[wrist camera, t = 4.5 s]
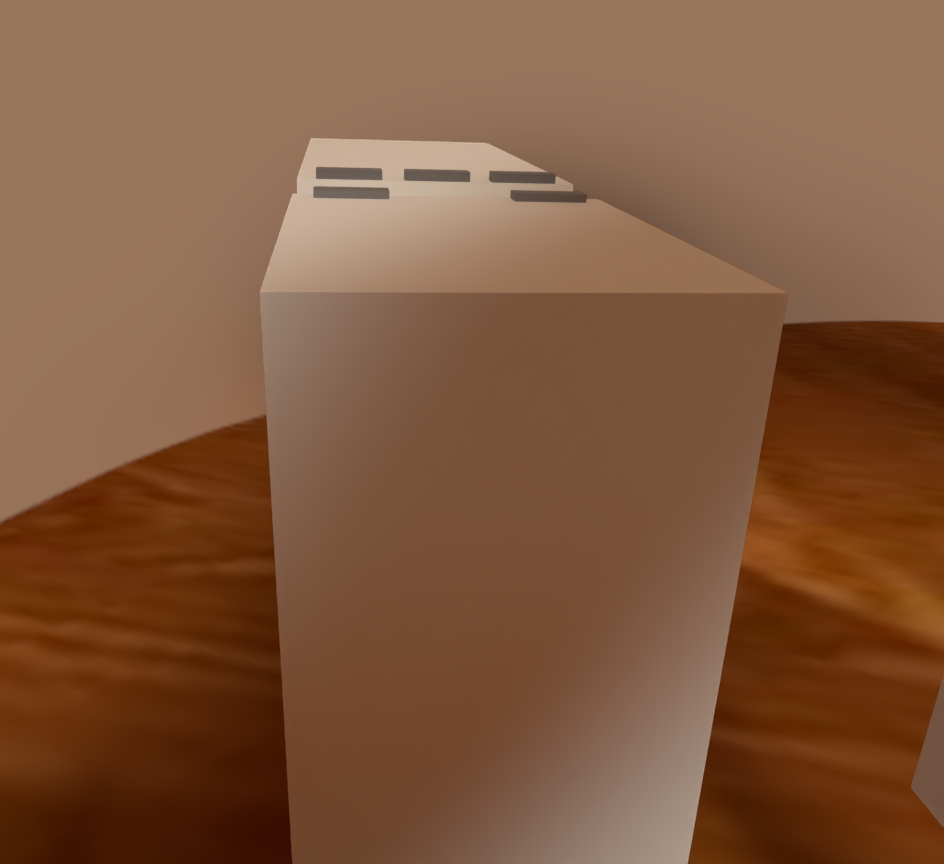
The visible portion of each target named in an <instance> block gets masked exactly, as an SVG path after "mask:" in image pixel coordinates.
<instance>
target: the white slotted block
mask: <svg viewBox="0 0 944 864" xmlns="http://www.w3.org/2000/svg"><path fill="white" fill-rule="evenodd" d="M314 186H327V187H378V188H388V189H389V195H394V196H449V197H503V198H510V195H511V190H531V191H573V184H571V183H569V182H567V181H565V180H563V179H561V178H559V177H557V176H556V175H555V174H554V173H551V172H546V171H544V170H542V169H540V168H538V167H536V166H534V165H532V164H529V163H527V162H525V161H523V160H521V159H519V158H517V157H515V156H513V155H511V154H509V153H506V152H504V151H502V150H500V149H498V148H496V147H494V146H492V145H490V144H488V143H469V142H432V141H397V140H360V139H323V138H311V140H310V143H309V145H308V148H307V151H306V154H305V157H304V160H303V163H302V165H301V168H300V171H299V174H298V177H297V194H313V188H314Z"/></svg>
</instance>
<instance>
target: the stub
mask: <svg viewBox="0 0 944 864" xmlns="http://www.w3.org/2000/svg"><path fill="white" fill-rule="evenodd" d="M586 198H587V195H586V194H584V193H582V192H579V191H531V190H511V195H510V198H503V197H449V196H394V195H389V189H388V188H378V187H327V186H314V188H313V194H292V197H291V200H290V203H289V206H288V209H287V212H286V215H285V218H284V221H283V224H282V227H281V230H280V233H279V236H278V239H277V242H276V245H275V248H274V251H273V254H272V257H271V260H270V263H269V266H268V269H267V272H266V275H265V278H264V281H263V284H262V287H261V290H260V304H261V305H260V306H261V324H262V341H263V359H264V375H265V393H266V412H267V429H268V447H269V464H270V482H271V499H272V517H273V535H274V552H275V570H276V587H277V605H278V622H279V640H280V657H281V675H282V693H283V710H284V728H285V745H286V763H287V780H288V798H289V816H290V833H291V851H292V864H688V859H689V853H690V847H691V842H692V836H693V830H694V825H695V819H696V813H697V808H698V802H699V796H700V791H701V785H702V780H703V774H704V768H705V763H706V757H707V751H708V746H709V740H710V734H711V729H712V723H713V717H714V712H715V706H716V700H717V695H718V689H719V683H720V678H721V672H722V666H723V661H724V655H725V649H726V644H727V638H728V632H729V627H730V621H731V615H732V610H733V604H734V598H735V593H736V587H737V581H738V576H739V570H740V564H741V559H742V553H743V547H744V542H745V536H746V530H747V525H748V519H749V513H750V508H751V502H752V497H753V491H754V485H755V480H756V474H757V468H758V463H759V457H760V451H761V446H762V440H763V434H764V429H765V423H766V417H767V412H768V406H769V400H770V395H771V389H772V383H773V378H774V372H775V366H776V361H777V355H778V349H779V344H780V338H781V332H782V327H783V321H784V315H785V310H786V304H787V298H788V293H787V292H784V291H783V290H781V289H779V288H776V287H775V286H773V285H771V284H768V283H767V282H764V281H762V280H760V279H758V278H756V277H754V276H752V275H750V274H748V273H746V272H744V271H742V270H740V269H738V268H736V267H734V266H732V265H730V264H728V263H726V262H724V261H722V260H720V259H718V258H716V257H714V256H712V255H710V254H708V253H706V252H704V251H702V250H700V249H698V248H696V247H694V246H692V245H690V244H688V243H686V242H684V241H682V240H679V239H677V238H676V237H674V236H671V235H670V234H667V233H665V232H663V231H661V230H659V229H657V228H655V227H653V226H651V225H649V224H647V223H645V222H643V221H641V220H639V219H637V218H635V217H633V216H631V215H629V214H627V213H625V212H623V211H621V210H619V209H617V208H615V207H613V206H611V205H609V204H607V203H605V202H603V201H601V200H599V199H586Z"/></svg>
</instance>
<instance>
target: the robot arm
mask: <svg viewBox="0 0 944 864" xmlns="http://www.w3.org/2000/svg"><path fill="white" fill-rule="evenodd" d="M911 788H912V789H913V791H914V792H915V793H916V794H917V795H918V797H919V798H920V799H921V800H922V802H923V803H924V804H925V805H926V807H927V808H928V809H929V810H930V811H931V813H932V814H933V815H934V816H935V818H936V819H937V820H938V821H939V823H940V824H941V825H942V826H943V828H944V676H943V679H942V683H941V686H940V690H939V693H938V696H937V700H936V703H935V707H934V710H933V713H932V717H931V720H930V724H929V727H928V730H927V734H926V737H925V741H924V744H923V747H922V751H921V754H920V758H919V761H918V765H917V768H916V771H915V775H914V778H913V782H912V785H911Z"/></svg>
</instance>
